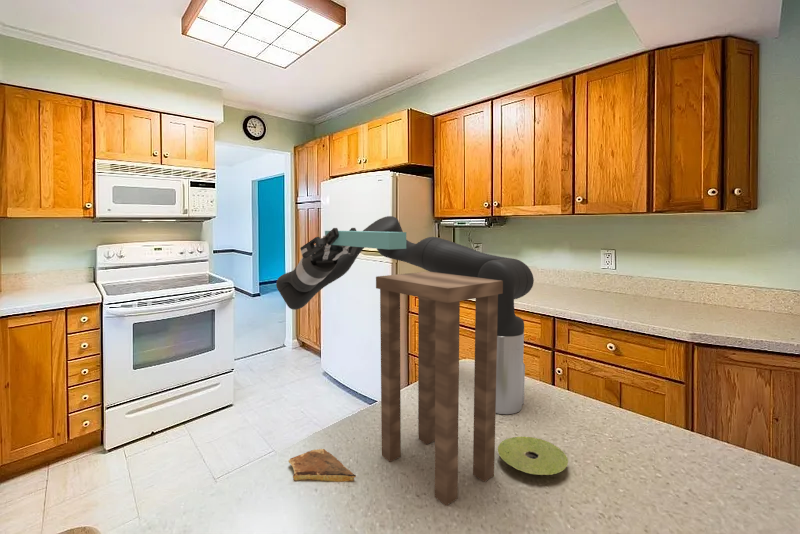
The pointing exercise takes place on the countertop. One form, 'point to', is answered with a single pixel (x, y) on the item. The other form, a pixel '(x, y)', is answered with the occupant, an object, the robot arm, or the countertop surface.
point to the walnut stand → (441, 369)
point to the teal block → (371, 239)
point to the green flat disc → (533, 455)
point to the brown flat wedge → (320, 467)
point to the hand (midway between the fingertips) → (346, 231)
